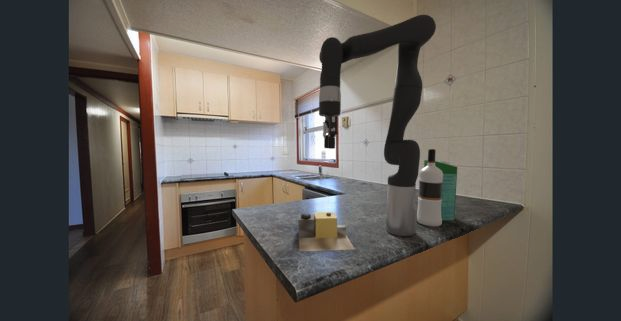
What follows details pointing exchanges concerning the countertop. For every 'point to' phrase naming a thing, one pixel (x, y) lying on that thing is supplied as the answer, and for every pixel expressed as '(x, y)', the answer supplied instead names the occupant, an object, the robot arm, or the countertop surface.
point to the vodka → (430, 193)
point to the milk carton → (447, 189)
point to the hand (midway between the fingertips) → (329, 148)
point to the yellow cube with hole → (325, 225)
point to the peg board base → (320, 244)
